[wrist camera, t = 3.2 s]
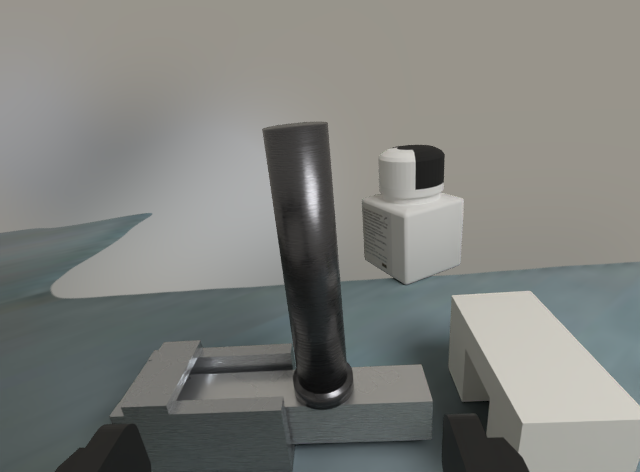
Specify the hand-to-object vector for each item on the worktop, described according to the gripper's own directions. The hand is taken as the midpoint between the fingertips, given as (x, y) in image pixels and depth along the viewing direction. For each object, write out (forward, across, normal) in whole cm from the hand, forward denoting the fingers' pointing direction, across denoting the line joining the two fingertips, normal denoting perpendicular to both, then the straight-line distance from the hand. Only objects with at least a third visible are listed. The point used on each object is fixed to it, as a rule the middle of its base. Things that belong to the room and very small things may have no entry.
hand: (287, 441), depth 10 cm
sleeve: (+10, +6, +11) cm, 16 cm away
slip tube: (+10, +2, +11) cm, 15 cm away
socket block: (+10, -11, +11) cm, 18 cm away
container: (+32, -9, +11) cm, 35 cm away
